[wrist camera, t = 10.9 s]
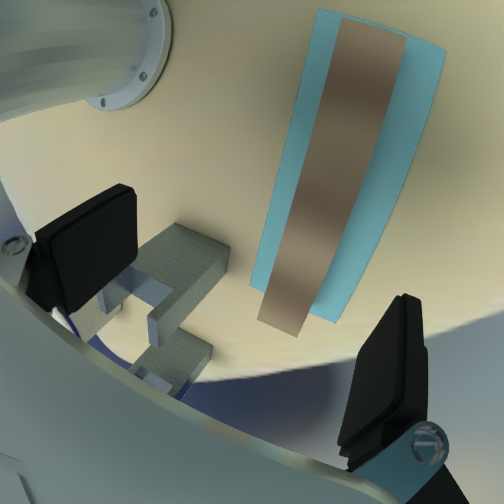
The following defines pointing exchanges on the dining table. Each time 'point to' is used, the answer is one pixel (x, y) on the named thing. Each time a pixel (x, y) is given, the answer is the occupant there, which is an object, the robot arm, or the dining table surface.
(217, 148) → the dining table surface
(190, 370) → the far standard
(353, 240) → the mat
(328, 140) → the rail
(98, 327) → the teacup with lid
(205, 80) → the dining table surface
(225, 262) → the near standard
